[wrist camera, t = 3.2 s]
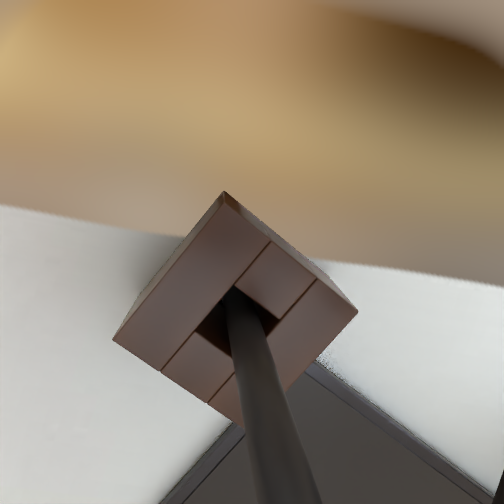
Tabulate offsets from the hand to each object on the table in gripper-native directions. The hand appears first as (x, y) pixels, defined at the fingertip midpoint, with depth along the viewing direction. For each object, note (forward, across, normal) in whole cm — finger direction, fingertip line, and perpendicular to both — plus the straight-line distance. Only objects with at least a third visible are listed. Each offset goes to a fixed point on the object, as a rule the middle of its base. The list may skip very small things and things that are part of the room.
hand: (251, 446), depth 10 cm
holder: (+12, 0, 0) cm, 12 cm away
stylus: (+12, 0, 0) cm, 12 cm away
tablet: (+12, +8, -13) cm, 19 cm away
